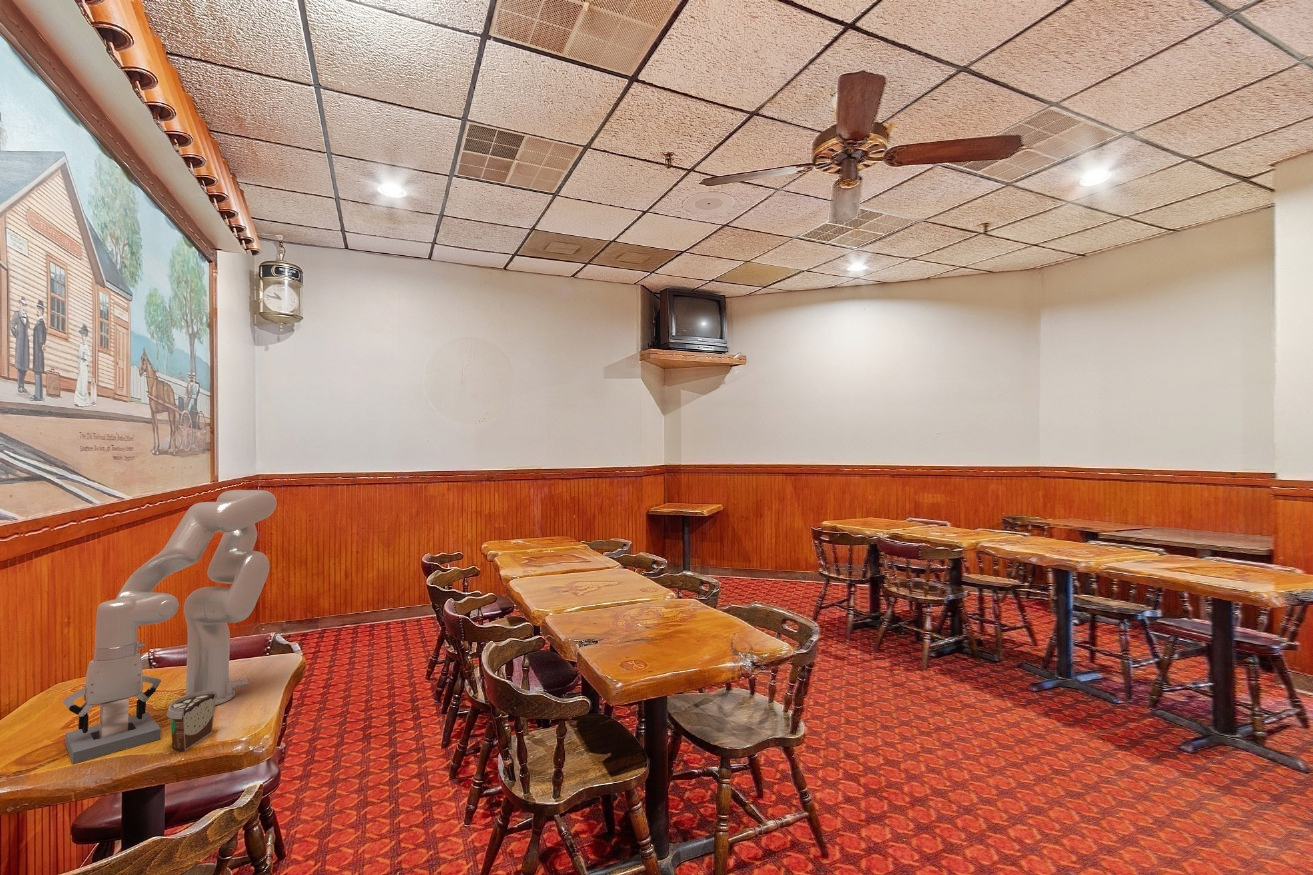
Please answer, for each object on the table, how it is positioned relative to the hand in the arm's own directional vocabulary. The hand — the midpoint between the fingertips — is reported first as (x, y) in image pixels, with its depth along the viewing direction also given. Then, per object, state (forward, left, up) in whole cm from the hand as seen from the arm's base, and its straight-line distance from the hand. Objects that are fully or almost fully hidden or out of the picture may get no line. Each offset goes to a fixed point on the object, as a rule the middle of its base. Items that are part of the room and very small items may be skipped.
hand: (112, 724), depth 139 cm
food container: (-11, +14, -4) cm, 18 cm away
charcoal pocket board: (0, 0, -4) cm, 4 cm away
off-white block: (0, 0, -4) cm, 4 cm away
